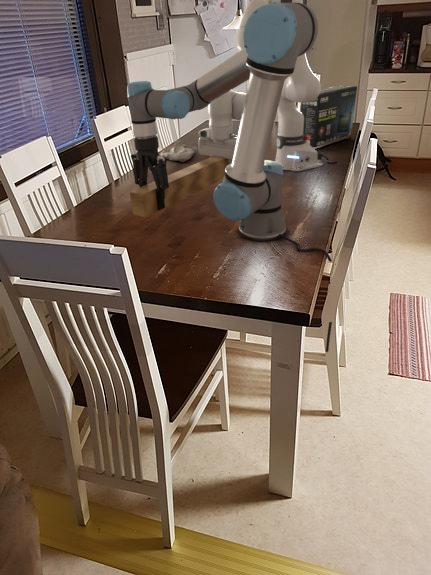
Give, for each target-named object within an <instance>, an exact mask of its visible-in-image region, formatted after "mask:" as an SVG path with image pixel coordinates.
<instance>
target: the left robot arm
mask: <svg viewBox="0 0 431 575" xmlns="http://www.w3.org/2000/svg"><path fill="white" fill-rule="evenodd" d="M318 34H319V22H318V18H317V16H316V13H315V12H314V10H313V8H311V7H309V6H308V5H306V4H305V3H304V4H302V3H277V2H274V3H270V4H267V5H263V6H261V7H259V8H258V9H256V10H255V11H254V12H253V13H252V14H251V15H250V17H249V18H248V20H247V22H246V24H245V27H244V32H243V44H244V47H245V48H244V49H242V50H241V51H239V50H238V52H236V53H235V54H233V55H232V56H230V57H229V58H227V59H226V60H224V61H222V62H221V63H219V64H218V65H217V66H215V67H213V68H212V69H210V70H209V71H207V72H206V73H204V74H202V75H201V76H200V77H198V78H197V79H195V80H194V81H192V82H191V83H189V84H187V85H183V86H179V87H174V88H170V89H154V88H153V84H152V82H151V81H148V80H139V81H132V82H129V83H128V84H127V86H126V90H127V101H128V108H129V114H130V123H131V129H132V136H133V144H134V149H135V151H136V152H135V153H132V154H130V159H131V161H132V167H133V179H134V184H135V185H138V186H139V188H140V187H142V186H144V185H147V184H149V182H148V175H149V171H150V172H151V174H152V178H153V182H154V181H155V184H156V187H157V190H156V199H157V207H158V210H159V211H162V210H163V208H164V209H166V208H165V203H164V199H165V192H164V190H165V189H167V188H169V183H168V170H167V160H168V159H166V158H165V157H164V158H162V156H161V155H160V153H159V148H160V143H159V142H160V141H159V137H158V126H157V118H159V119H160V118H161V119H169V120H182V119H184V118H186V116H187V115H188V114H189V113H192V112H195V111H201V110H203V109H205V108H208V105H209V104H210V103H211V102H212V101H213V100H215V99H217V98H218V97H220V96H222V95H223V94H225V93H227V92H229V91H230V90H234V89H235V88H237V87H239V86H240V85H242V84H244V83H246V82H247V81H248V84H247V88H246V98H245V103H244V107H243V112H242V117H241V121H240V122H239V127H238V132H237V135H238V137H237V142H236V147H235V151H234V156H233V161H232V163H231V164H229V165H228V166H226V169H225V173H224V178H223V179H222V182H220V183H219V184H218V185H217V186H216V187H215V189H214V191H213V193H212V194H213V195H212V197H213V198H212V199H213V203H214V206H215V209H217V211H218V212H219V214H220V215H221V216H222V217H224V219H226V220H229V221H231V222H239V225H238V232H239V235H240V236H241V237H242V238H244V239H247V240H250V241H254V242H271V241H277V240H279V239H283V240H285V241H287V242H289V243H291V244H293V245H295V246H296V249H297V251H299V252H301V253H307V252H310V251H316V252H321V253H323V254H324V256H325V257H326V258H327V260H328V262H330V263H331V262H333V260H332V258H331V256H330V254H329V252H327V250H325V249H323V248H319V247H314V246H313V247H308V248H301V245H300V243H298V242H297V241H295V240H293V239H291V238H290V237H287V236H286V234H287V223H286V221H285V216H284V214H283V210H282V200H283V183H284V170H283V167H282V165H281V164H280V163H278V162H275V160H270V159H266V157H267V154H268V149H269V145H270V141H271V137H272V133H273V130H274V125H275V122H276V117H277V115H278V113H277V110H278V106H279V102H280V98H281V94H282V90H283V86H284V82H285V79H286V78H288V77H289V76H291V75H292V74H293V72H294V68H295V64H296V60H297V57H298V56H301V55H303V54H306V53H307V52H309V51H310V50H311V48H313V46H314V45H315V43H316V40H317V38H318ZM161 209H162V210H161ZM332 325H333V321H329V322H328V328H327V335H326V343H325V352H326V353H328V352H329V351H330V350H329V349H330V348H329V347H330V340H331V338H330V337H331V331H332Z"/></svg>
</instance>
